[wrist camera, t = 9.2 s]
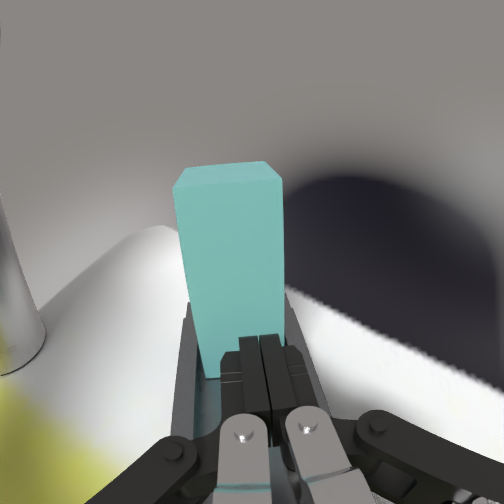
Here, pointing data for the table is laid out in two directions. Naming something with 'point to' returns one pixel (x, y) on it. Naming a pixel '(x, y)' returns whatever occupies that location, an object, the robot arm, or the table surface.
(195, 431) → the charcoal chute
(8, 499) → the table surface
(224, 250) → the teal block
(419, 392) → the table surface
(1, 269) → the robot arm
